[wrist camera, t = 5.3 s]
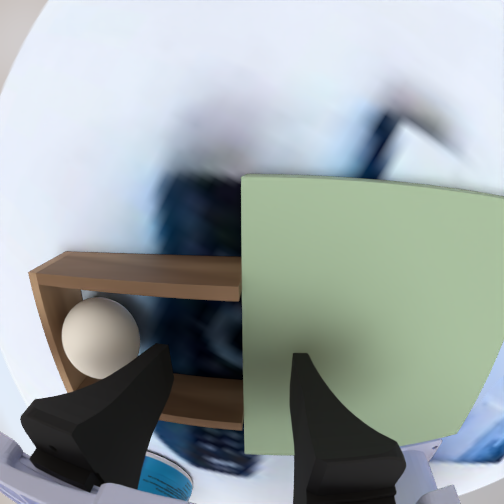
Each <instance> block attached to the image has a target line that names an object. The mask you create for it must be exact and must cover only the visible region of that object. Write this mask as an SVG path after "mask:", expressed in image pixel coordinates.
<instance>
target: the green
mask: <svg viewBox="0 0 504 504" xmlns="http://www.w3.org/2000/svg"><path fill="white" fill-rule="evenodd" d="M241 237H242V335H243V394H244V440H245V454H257V455H294V441H293V432H292V424H291V415H290V406H289V397H290V378H291V368H292V357H293V353H308V354H309V356H310V358H311V360H312V362H313V364H314V366H315V367H316V369H317V371H318V372H319V374H320V376H321V377H322V379H323V380H324V381H325V383H326V384H327V386H328V387H329V388H330V390H331V391H332V392H333V393H334V395H335V396H336V397H337V398H338V399H339V400H340V402H341V403H342V404H343V405H344V406H345V407H346V408H347V409H348V410H349V411H351V412H352V413H353V414H354V415H355V416H356V417H358V418H359V419H360V420H361V421H363V422H364V423H365V424H367V425H368V426H370V427H371V428H373V429H374V430H376V431H378V432H379V433H381V434H383V435H385V436H387V437H389V438H391V439H393V440H395V441H397V443H398V445H399V446H405V445H410V444H415V443H420V442H425V441H430V440H434V439H438V438H442V437H446V436H450V435H454V434H457V432H458V431H459V429H460V428H461V426H462V424H463V423H464V421H465V419H466V418H467V416H468V414H469V412H470V411H471V409H472V407H473V405H474V403H475V401H476V399H477V398H478V396H479V393H480V392H481V390H482V388H483V386H484V384H485V382H486V380H487V377H488V376H489V373H490V371H491V369H492V367H493V365H494V362H495V360H496V358H497V355H498V353H499V350H500V348H501V346H502V343H503V341H504V196H498V195H493V194H487V193H481V192H475V191H469V190H462V189H455V188H448V187H441V186H433V185H425V184H416V183H407V182H397V181H387V180H375V179H363V178H349V177H333V176H313V175H284V174H246V175H244V176H242V177H241Z"/></svg>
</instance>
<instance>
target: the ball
mask: <svg viewBox="0 0 504 504" xmlns="http://www.w3.org/2000/svg"><path fill="white" fill-rule="evenodd" d="M62 343H63V348H64V351H65V353H66V355H67V357H68V359H69V360H70V362H71V363H72V364H73V365H74V366H75V367H76V368H77V369H78V370H79V371H80V372H82V373H83V374H85V375H87V376H90V377H93V378H97V379H104V378H106V377H107V376H109V375H111V374H113V373H114V372H116V371H117V370H119V369H120V368H122V367H124V366H125V365H127V364H128V363H130V362H131V361H132V360H134V359H135V358H137V356H138V353H139V348H140V334H139V329H138V326H137V324H136V321H135V320H134V318H133V316H132V315H131V314H130V312H129V311H128V310H127V309H126V308H125V307H124V306H122V305H121V304H119V303H118V302H116V301H114V300H111V299H108V298H102V297H95V298H89V299H86V300H83V301H81V302H79V303H78V304H76V305H75V306H74V307H73V308H72V309H71V310H70V312H69V313H68V315H67V316H66V318H65V320H64V323H63V328H62Z"/></svg>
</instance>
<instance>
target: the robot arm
mask: <svg viewBox="0 0 504 504" xmlns="http://www.w3.org/2000/svg"><path fill="white" fill-rule="evenodd" d="M173 381H174V375H173V369H172V363H171V358H170V352H169V346H168V345H165V344H157V343H156V344H155V345H153V346H152V347H150V348H149V349H147V350H146V351H145V352H143V353H142V354H141V355H139V356H138V357H137V358H135V359H134V360H132V361H131V362H130V363H128V364H127V365H125V366H124V367H122V368H120V369H119V370H117V371H116V372H114V373H113V374H111V375H109V376H107V377H106V378H104V379H102V380H100V381H98V382H96V383H94V384H91V385H89V386H86V387H84V388H81V389H78V390H76V391H73V392H69V393H66V394H62V395H58V396H54V397H48V398H42V399H35V400H34V401H33V402H32V403H31V405H30V406H29V407H28V408H27V410H26V411H25V412H24V413H23V414H22V416H21V419H20V420H21V424H22V426H23V428H24V430H25V432H26V433H27V434H28V436H29V437H30V439H31V440H32V442H33V443H34V445H35V446H36V450H35V451H34V453H33V454H32V456H29V455H28V454H26V453H24V452H23V450H22V449H21V447H20V446H19V445H18V444H17V443H16V442H15V441H14V440H13V439H12V438H10V437H8V436H7V435H5V434H3V433H1V432H0V492H1V493H3V494H4V495H5V496H7V497H8V498H10V499H11V500H13V501H14V502H16V503H17V504H195V503H191V502H187V501H184V500H179V499H174V498H169V497H164V496H160V495H156V494H152V493H148V492H144V491H140V490H138V485H139V480H140V475H141V471H142V467H143V463H144V459H145V455H146V452H147V448H148V445H149V442H150V439H151V436H152V433H153V431H154V429H155V427H156V424H157V422H158V420H159V418H160V416H161V414H162V411H163V409H164V407H165V405H166V402H167V400H168V398H169V395H170V392H171V389H172V385H173ZM289 406H290V415H291V424H292V432H293V441H294V497H293V504H461V503H460V500H459V498H458V495H457V492H456V489H455V487H454V485H450V486H447V487H444V488H440V489H437V486H436V483H435V480H434V477H433V474H432V471H431V469H430V466H429V463H428V462H429V461H430V459H431V458H432V456H433V455H434V454H435V452H436V451H437V449H438V447H439V446H440V444H441V443H442V440H441V438H438V439H434V440H430V441H425V442H420V443H415V444H410V445H405V446H399V445H398V443H397V441H395V440H393V439H391V438H389V437H387V436H385V435H383V434H381V433H379V432H378V431H376V430H374V429H373V428H371V427H370V426H368V425H367V424H365V423H364V422H363V421H361V420H360V419H359V418H358V417H356V416H355V415H354V414H353V413H352V412H351V411H349V410H348V409H347V408H346V407H345V406H344V405H343V404H342V403H341V402H340V400H339V399H338V398H337V397H336V396H335V395H334V393H333V392H332V391H331V390H330V388H329V387H328V386H327V384H326V383H325V381H324V380H323V379H322V377H321V376H320V374H319V372H318V371H317V369H316V367H315V366H314V364H313V362H312V360H311V358H310V356H309V354H308V353H293V357H292V368H291V378H290V397H289Z"/></svg>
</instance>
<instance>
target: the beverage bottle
mask: <svg viewBox="0 0 504 504" xmlns="http://www.w3.org/2000/svg"><path fill="white" fill-rule="evenodd" d="M192 489H193V483H192V480H191V478H190V477H189V475H188V474H187V473H186V472H185V471H184V470H183V469H181V468H180V467H179V466H177V465H176V464H174V463H173V462H171V461H169V460H167V459H165V458H163V457H161V456H158V455H156V454H153V453H150V452H146V455H145V459H144V463H143V467H142V471H141V475H140V480H139V485H138V490H140V491H144V492H148V493H152V494H156V495H160V496H164V497H169V498H174V499H179V500H184V501H187V502H188V501H189V498H190V496H191V493H192Z"/></svg>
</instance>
